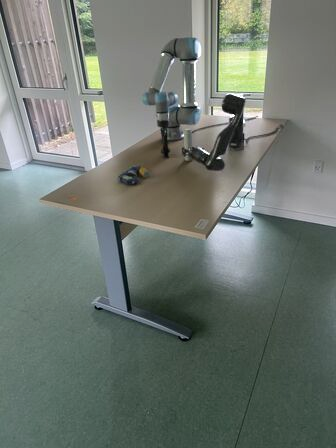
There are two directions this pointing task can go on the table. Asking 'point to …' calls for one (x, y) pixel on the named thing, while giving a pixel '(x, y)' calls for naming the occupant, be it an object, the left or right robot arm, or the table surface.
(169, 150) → the lid
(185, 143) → the bottle
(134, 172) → the spray gun
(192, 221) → the table surface
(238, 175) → the table surface
